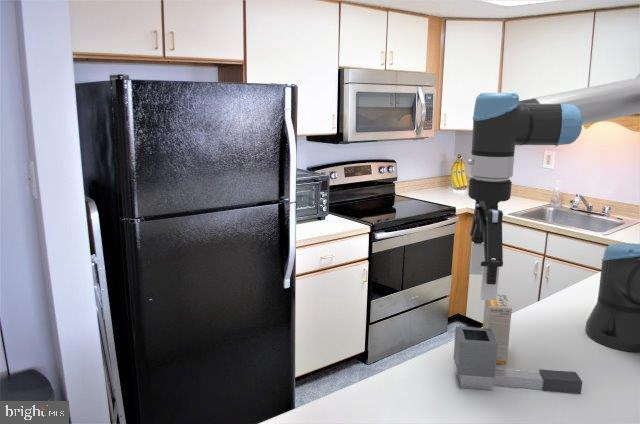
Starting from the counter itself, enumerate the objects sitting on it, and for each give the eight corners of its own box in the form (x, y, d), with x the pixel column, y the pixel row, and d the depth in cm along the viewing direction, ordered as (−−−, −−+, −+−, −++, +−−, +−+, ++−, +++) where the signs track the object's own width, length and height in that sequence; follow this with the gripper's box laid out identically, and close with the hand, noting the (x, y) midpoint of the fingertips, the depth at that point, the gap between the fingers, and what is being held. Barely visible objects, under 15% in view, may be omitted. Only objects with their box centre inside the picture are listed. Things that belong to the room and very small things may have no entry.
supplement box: (507, 365, 111) (513, 308, 108) (484, 363, 112) (489, 306, 109) (502, 347, 118) (507, 294, 116) (480, 345, 119) (484, 292, 117)
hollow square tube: (488, 359, 107) (490, 328, 105) (494, 377, 100) (497, 344, 99) (453, 357, 108) (455, 326, 106) (457, 374, 101) (460, 342, 99)
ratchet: (572, 380, 105) (576, 347, 103) (583, 397, 99) (587, 362, 97) (456, 371, 108) (459, 339, 106) (460, 387, 102) (463, 353, 100)
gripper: (461, 168, 108) (454, 264, 113) (480, 189, 84) (471, 310, 89) (498, 168, 107) (490, 265, 112) (528, 190, 83) (517, 313, 88)
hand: (482, 285), depth 100 cm, fingers open, 13 cm apart
